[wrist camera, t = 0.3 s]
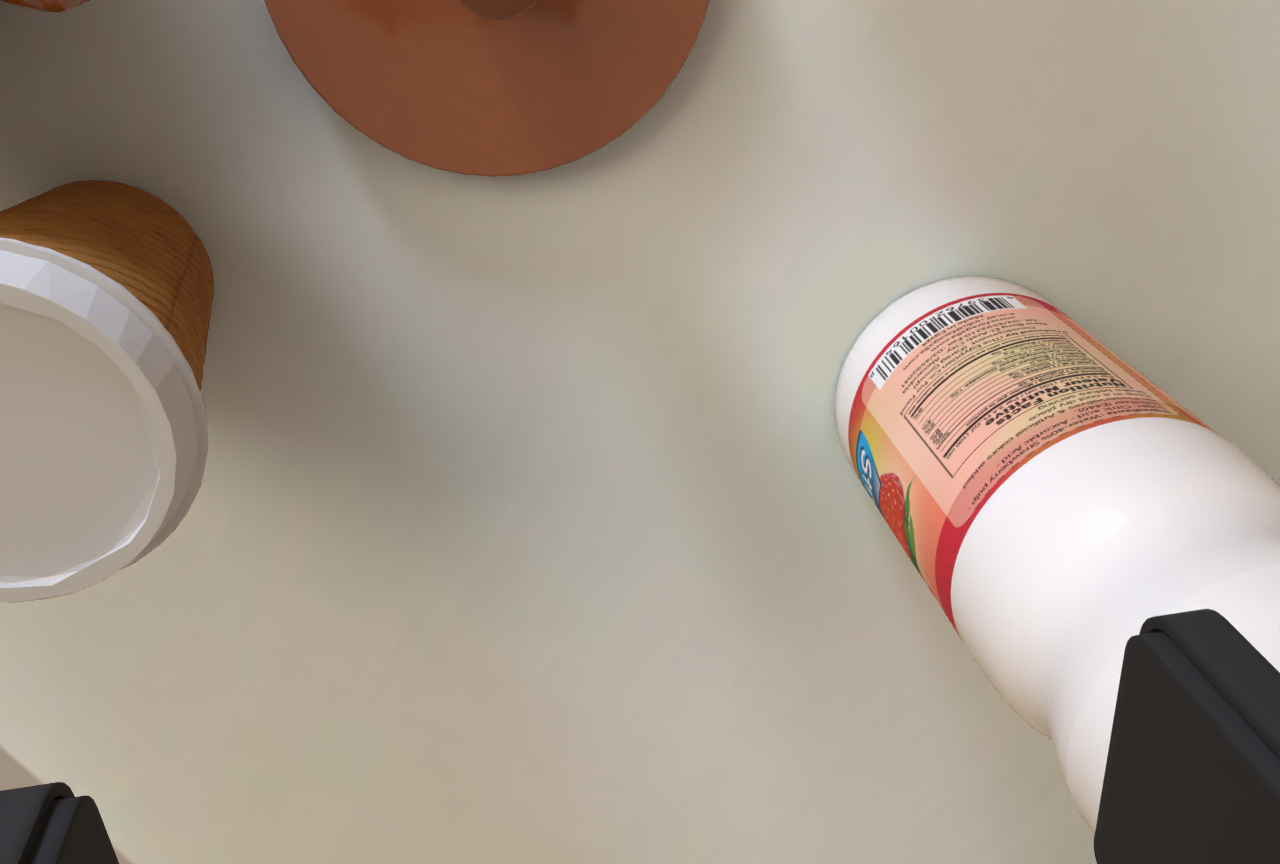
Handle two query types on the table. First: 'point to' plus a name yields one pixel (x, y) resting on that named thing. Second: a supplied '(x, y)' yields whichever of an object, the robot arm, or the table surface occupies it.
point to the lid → (490, 73)
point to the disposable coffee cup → (97, 383)
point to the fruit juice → (1052, 501)
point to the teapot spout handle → (48, 4)
